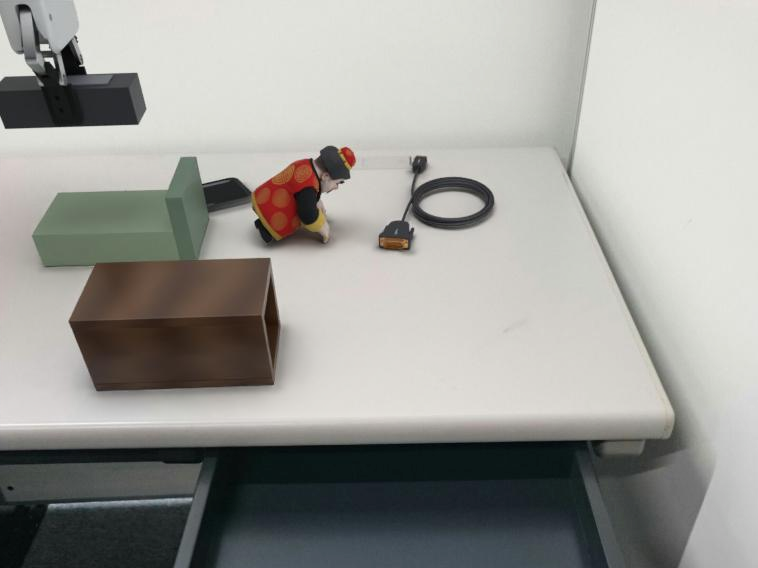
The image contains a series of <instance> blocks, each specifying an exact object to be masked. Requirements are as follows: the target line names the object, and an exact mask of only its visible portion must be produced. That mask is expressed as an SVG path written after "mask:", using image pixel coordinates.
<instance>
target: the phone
mask: <svg viewBox="0 0 758 568" xmlns="http://www.w3.org/2000/svg"><path fill="white" fill-rule="evenodd" d="M202 186H203V191H204V196H205V200H206V205H207V210H208V214H211V213H214V212H219V211H223V210H226V209H230V208H231V209H232V208H235V207H239V206H243V205H247V204H252V202H251V193H252V192H253V191H251V190H250V189H249V188H248V186H246V185H245V184H244V183H243V182H242V181H241V180H240V179H239V178H237V177H234V176H233V177H226V178H221V179H218V180H217V179H216V180H213V181H212V180H211V181H207V182H204V183H203V182H202Z"/></svg>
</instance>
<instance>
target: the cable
mask: <svg viewBox="0 0 758 568" xmlns="http://www.w3.org/2000/svg"><path fill="white" fill-rule="evenodd" d="M427 163H428V156H427V155H422V154H417V155H415V156H414V158H413V161H412V163H411V168H412V171H413V172H414V176H413V178H412V183H411V188H410V190H411V191H410V193H411V197H410V199H409V201H408V203H407V205H406V208H405V210H404V212H403V215H402V218H401V220H400V219H399V220H397V219H396V220H392V221H390V222H389V223H388V225H387V224H386V225H385V227H384V229H383V231H381V232H380V233H379V235H378V247H379V248H384V249H396V250H410V249H411V242H412V238H413V236H414V233H415V227H410V223H409V222H408V221H406V217H407V215H408V212H409V209H410V208H411V211H412V214H414V216H415V217H416V218H418V220H420V221H422V222H424V223H426V224H429V225H433V226H437V227H445V228H448V227H450V228H451V227H462V226H466V225H470V224H473V223H476V222H478V221H480V220H482V219H484V218H485V217H487V216H488V214H490V213H491V212H492V210H493V209H494V206H495V201H496V200H495V196H494V193H493V191H492V190H491V189H490V188H489V186H487V185H486V184H484V183H482V182H481V181H478V180H476V179H473V178H468V177H463V176H444V177H438V178H434V179H431V180H430V179H429V180H428V181H426V182H423V183H422V184H420V185H419V186H417V187H416V188H415V184H416V180H417V177H418V173H421V172H422V171H423V170H424V169H425V167H426V165H427ZM445 188H460V189H461V188H462V189H467V190H470V191H473V192H475V193H477V194H479V195H480V196H481V197H482V198H483V200H484V203H485V204H484V206H483V207H482V208H481V209H480V210H478V211H477V212H475V213H472V214H470V215H466V216H460V217H442V216H438V215H433V214H430V213H428V212H426V211H424V210H423V208H422V207H420V205H419V202H420V200H421V198H422V197H423V196H425V195H426V194H428V193H430V192H433V191H435V190H439V189H445Z"/></svg>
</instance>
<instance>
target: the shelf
mask: <svg viewBox="0 0 758 568" xmlns="http://www.w3.org/2000/svg"><path fill="white" fill-rule="evenodd" d="M272 266H273V264H272V258H271V257H244V258H241V257H240V258H212V259H211V258H209V259H208V258H207V259H197V260H174V261H140V262H106V263H96V264H95V265H93V268H92V270H91V272H90V274H89V275H88V279H87V280H86V283H85V285H84V287H83V289H82V291H81V294H80V295H79V297H78V300H77V302H76V304H75V306H74V308H73V310H72V312H71V315H70V317H69V318H68V323H69V326H70V329H71V332H72V333H73V336H74V339H75V341H76V343H77V346H78V350H79V351H80V353H81V356H82V358H83V359H82V360H83V361H84V364H85V366H86V369H87V370H88V374H89V376H90V379H91V381H92V383H93V386H94V388H95V392H96V391H98V392H99V391H100V392H101V391H127V390H153V389H154V390H155V389H156V390H157V389H182V388H183V389H186V388H210V387H212V388H213V387H215V388H216V387H242V386H243V387H244V386H272V385H274V384H275V376H276V368H277V361H278V360H277V359H278V351H279V345H280V343H279V342H280V335H281V328H282V327H281V326H282V323H281V318H280V311H279V305H278V297H277V292H276V285H275V278H274V272H273V267H272Z"/></svg>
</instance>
